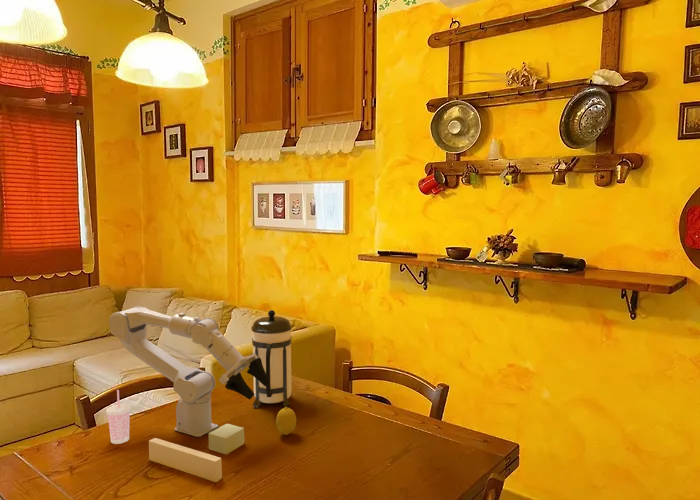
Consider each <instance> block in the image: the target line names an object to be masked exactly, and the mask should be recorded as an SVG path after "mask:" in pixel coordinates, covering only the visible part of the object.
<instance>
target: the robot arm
mask: <svg viewBox="0 0 700 500" xmlns="http://www.w3.org/2000/svg"><path fill="white" fill-rule="evenodd" d="M108 326H109V331H110V334H112V335H113V336H114V337H116V338H117V339H118V340H119V341H120V342H121V344H122V345H123V346H124V348H125V349H126V350H127V351H128V352H129V353H130V354H132V355H133V356H135V357H137V359H139V360H140V361H142V362H144V363H145V364H146V365H147V366H150V367H151V368H152V369H154V370H155V371H156V372H158V373H160V374H161V375H162V376H164V377H165V378H166V379H168V380H170V381H171V382H173V391H174V392H175V393H177V395H179V399H178V400H177V401H178V402H177V403H176V405H175V406H176V407H175V414H176V415H175V417H176V419H175V420H176V421H175V422H176V427H174V431H176V432H179V433H182V434H186V435H190V436H193V437H196V438H201V437H202V436H203V435H204V436H205V434H208V433H210V432H212V431H214V430H216V429H217V428H219V425H218V424H216V423H213V422H212V401H211V400H212V399H211V397H212V392H213V390H214V389H215V388H216V379H215V377H214V375H213V374H212V373H211V372H209V371H206V370H201V369H200V368H198V367H193V366H192V367H191V366H186V364H184V363H182V361H181V362H180V361H179V360H178V359H176V358H175V357H174V356H172V355H170V354H169V353H167V352H166V351H165V350H163V349H161V348H160V347H159V346H157V345H155V344H154V343H153V342H151V341H150V340H149V339H147V338H146V336H147V333H148V331H147V330H148V326H152V327H153V326H154V327H160V328H163V329H164V328H165V329H168V330H169V333H170V334H172V335H177V336H179V337H184V338H188V339H191V341H192V342H193V343H194V344H197V345H201V346H202V347H203V348H205V349H206V350H207V351H208V352H209V353H210V355H212V356H213V358H214V359H215V360H216V361H217V362H218V363H219V364H220V365H221V367H223V369H225V371H226V372H225V373H224V374H222V375H221V376H220V378H219V379H218V381H219V382H220V383H221V384H222V385H223V386H224V388H225V389H226V390H230V391H233V392H235V393H237V394H240V395H242V396H243V397H245V398H246V399H248V400H249V401H250V400H251V399H252V398H253V397H254V390H252V388H251V387H249V385H248V384H247V382H246V381H245V380H244V378H243V376H242V372H243V371H244V370H246V369H247V368H248V369H247V370H246V373H247V374H249V375H250V376H252V377H253V378H254V377H255V378H256V379H257V380H259V381H260V382H261V383H262V384H263V385H264V386H267V385H268V384H269V382H270V380H269V378H268V376H267V374H266V373H265V370H264V368H263V365H262V361H261V359H260V358H259V357H257V356H256V354H255V353H254V354H253V353H252V354H249V355H247V356H244V355H242V354H241V352H239V350H238V349H237V348H236V347H235V346H234V345H233V344H232V343H231V342H230V341H229V340H228V338H226V336H225V335H224V334H223V333H222V332H221V331H220V327H219V324H218V323H217V321H216V320H215V319H212V318H211V317H206V318H204V319H201V318H200V317H199V316H195V317H192V316H188V315H186V313H185V312H180V313H176V314H174V315H173V316H171V315H167V314H166V313H165V314H164V313H161V312H157V311H154V310H151V309H148V308H147V307H142V306H139V305H137V306H133V307H132V308H128V309H125V310H121V311H117V312H113V313H111V314H110V316H109V318H108Z"/></svg>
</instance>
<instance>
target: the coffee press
mask: <svg viewBox="0 0 700 500" xmlns="http://www.w3.org/2000/svg"><path fill="white" fill-rule="evenodd" d="M267 314H268V316H263V317H259V318H258V319H256V320H255V321H254V322H253V323H252V325H251V331H252V338H251V345H252V354H254V353H255V354H256V356H257V357H259V358H260V359H261V361H262V365H263V368H264V370H265V373H266V374H267V376H268V378H269V380H270V382H269V384H268V385H267V386H264V385H263V384H262V383H261V382H260V381H259V380H257V379H256V378H255V377H254V376H253V393H254V396H253V397H254V402H253V404H252V407H253V408H256V409H258V408H259V407H260V406H261V405H262V404H263V403H265V404H277V403H281V404H282V406H283V408H285V407H287V408H290V402H289V398H290V397H292V339H293V338H292V329H293V325H292V324H291V322H290V320H289V319H288V318H286V317H283V316H276V312H275V311H274V310H273V309H271V310H269V311H268V312H267Z"/></svg>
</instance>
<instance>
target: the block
mask: <svg viewBox="0 0 700 500" xmlns="http://www.w3.org/2000/svg"><path fill="white" fill-rule="evenodd" d="M207 434H208V450H210V451H214V452H217V453H220V454H223V455H228V454H230V453H231V452H233V451H235V450H236V449H238V448H239V447H242V445H244V444H245V428H244V427H241V426H237V425H234V424H231V423H225V424H223V425H221V426H218V427H217V428H215V429H213V430H211V431H209V432H207Z"/></svg>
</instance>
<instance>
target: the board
mask: <svg viewBox="0 0 700 500" xmlns="http://www.w3.org/2000/svg"><path fill="white" fill-rule="evenodd" d="M148 456H149V461H151V462H153V463H157V464H160V465H163V466H167V467H168V468H169V467H170V468H172V469H175V470H178V471H181V472H185V473H187V474H190V475H193V476H196V477H199V478H202V479H205V480H208V481H210V482H214V483H217V482H219V481H220V480H222V479H223V471H222V469H223V468H222V467H223V466H222V463H223V462H222V457H219V456H216V455H214V454H209V453H207V452H203V451H200V450H197V449H195V448H194V449H193V448H190V447H187V446H183V445H181V444H177V443H173V442H170V441H167V440H164V439H161V438H157V437H154V438H152V439H149V440H148Z"/></svg>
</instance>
